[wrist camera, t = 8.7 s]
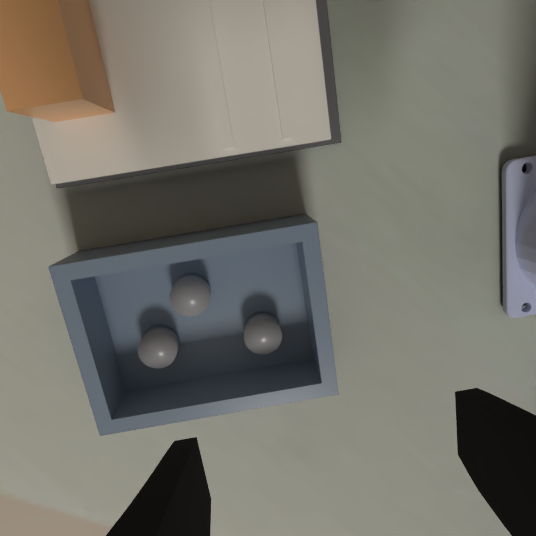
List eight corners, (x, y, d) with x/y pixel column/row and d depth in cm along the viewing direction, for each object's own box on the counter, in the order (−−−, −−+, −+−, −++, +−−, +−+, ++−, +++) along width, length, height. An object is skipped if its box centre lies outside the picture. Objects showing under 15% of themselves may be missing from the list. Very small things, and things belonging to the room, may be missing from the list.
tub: (305, 214, 19) (317, 222, 16) (325, 363, 21) (338, 394, 18) (78, 251, 19) (48, 267, 16) (119, 398, 21) (99, 435, 18)
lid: (297, -81, 16) (320, -187, 11) (323, 141, 18) (352, 132, 13) (7, -38, 16) (-96, -127, 11) (68, 182, 18) (5, 189, 13)
